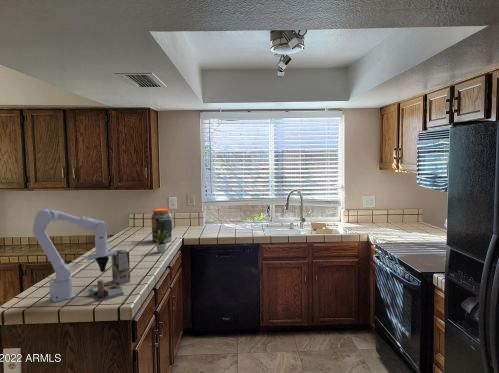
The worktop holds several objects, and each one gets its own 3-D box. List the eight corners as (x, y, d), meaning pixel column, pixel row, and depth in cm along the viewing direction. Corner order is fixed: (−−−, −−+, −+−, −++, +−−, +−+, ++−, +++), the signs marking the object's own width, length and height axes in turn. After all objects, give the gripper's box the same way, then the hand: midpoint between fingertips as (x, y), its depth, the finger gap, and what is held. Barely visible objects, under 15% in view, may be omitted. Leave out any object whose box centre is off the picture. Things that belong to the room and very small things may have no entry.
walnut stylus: (99, 298, 172) (98, 282, 172) (97, 296, 174) (96, 281, 174) (105, 296, 174) (104, 281, 174) (102, 294, 176) (102, 279, 176)
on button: (94, 294, 177) (94, 290, 177) (91, 292, 180) (91, 288, 180) (103, 292, 180) (103, 288, 180) (99, 290, 183) (99, 286, 183)
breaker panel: (99, 301, 171) (99, 294, 171) (89, 294, 180) (88, 287, 180) (124, 294, 179) (123, 287, 179) (112, 287, 189) (112, 281, 188)
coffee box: (130, 281, 199) (129, 252, 197) (119, 284, 194) (118, 254, 193) (123, 277, 205) (122, 249, 204) (112, 280, 201) (110, 251, 199)
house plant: (166, 255, 250) (165, 232, 249) (147, 254, 253) (146, 231, 252) (174, 250, 264) (173, 228, 263) (156, 249, 267) (156, 227, 266)
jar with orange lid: (174, 239, 301) (173, 207, 299) (168, 243, 286) (167, 210, 284) (156, 238, 303) (155, 207, 301) (149, 243, 287) (148, 210, 285)
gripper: (89, 249, 175) (91, 276, 176) (118, 243, 185) (120, 270, 186) (84, 246, 180) (85, 273, 181) (112, 241, 190) (114, 267, 191)
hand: (102, 271), depth 184 cm, fingers closed
